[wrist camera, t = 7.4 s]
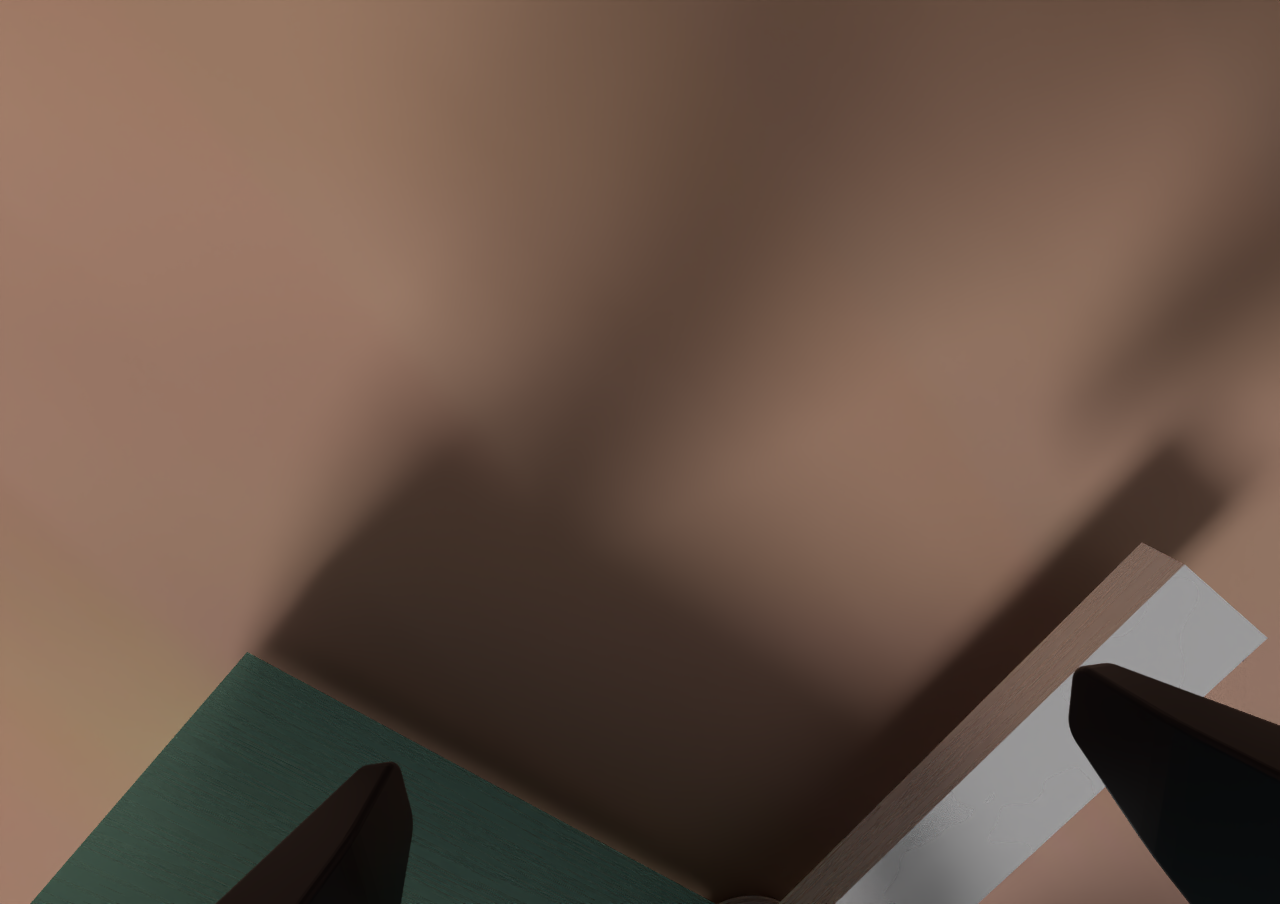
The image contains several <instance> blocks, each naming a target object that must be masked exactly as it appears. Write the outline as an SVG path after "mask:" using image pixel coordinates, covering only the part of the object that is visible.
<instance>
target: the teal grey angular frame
mask: <svg viewBox="0 0 1280 904" xmlns="http://www.w3.org/2000/svg"><path fill="white" fill-rule="evenodd" d="M1266 639H1267V637H1266V636H1265V635H1264V634H1262V633H1261V632H1260V631H1259V630H1258V629H1257V628H1256V627H1255V626H1253V625H1252V624H1251V623H1250V622H1249V621H1248V620H1247V619H1246V618H1244V617H1243V616H1242V615H1241V614H1240V613H1239V612H1238V611H1237V610H1235V609H1234V608H1233V607H1232V606H1231V605H1230V604H1229V603H1228V602H1226V601H1225V600H1224V599H1223V598H1222V597H1221V596H1220V595H1219V594H1217V593H1216V592H1215V591H1214V590H1213V589H1212V588H1211V587H1209V586H1208V585H1207V584H1206V583H1205V582H1204V581H1203V580H1202V579H1200V578H1199V577H1198V576H1197V575H1196V574H1195V573H1194V572H1193V571H1191V570H1190V569H1189V568H1188V567H1187V566H1186V565H1185V564H1183V563H1181V562H1179V561H1177V560H1175V559H1173V558H1171V557H1169V556H1167V555H1165V554H1164V553H1162V552H1160V551H1158V550H1156V549H1154V548H1152V547H1150V546H1148V545H1146V544H1144V543H1141V544H1140V545H1139V546H1138V547H1137V548H1136V549H1135V550H1134V551H1133V552H1132V553H1131V554H1130V555H1129V556H1128V557H1127V558H1126V559H1125V560H1124V561H1123V562H1122V563H1120V564H1119V565H1118V566H1117V567H1116V568H1115V569H1114V570H1113V571H1112V572H1111V573H1110V574H1109V575H1108V576H1107V577H1106V578H1105V579H1104V580H1103V581H1102V582H1101V583H1100V584H1099V585H1098V586H1097V587H1096V588H1095V589H1094V590H1093V591H1092V592H1091V593H1090V594H1089V595H1088V596H1087V597H1086V598H1085V599H1084V600H1083V601H1082V602H1081V603H1080V604H1079V605H1078V606H1077V607H1076V608H1075V609H1074V610H1073V611H1072V612H1071V613H1070V614H1069V615H1068V616H1067V617H1066V618H1065V619H1064V620H1063V621H1062V622H1061V623H1060V624H1059V625H1058V626H1057V627H1056V628H1055V629H1054V630H1053V631H1052V632H1051V633H1050V634H1049V635H1048V636H1047V637H1046V638H1045V639H1044V640H1043V641H1042V642H1041V643H1040V644H1039V645H1038V646H1037V647H1036V648H1035V649H1034V650H1033V651H1032V652H1031V653H1030V654H1029V655H1028V656H1027V657H1026V658H1025V659H1024V660H1023V661H1022V662H1021V663H1020V664H1019V665H1018V666H1017V667H1016V668H1015V669H1014V670H1013V671H1012V672H1011V673H1010V674H1009V675H1008V676H1007V677H1006V678H1005V679H1004V680H1003V681H1002V682H1001V683H1000V684H999V685H998V686H997V687H996V688H995V689H994V690H993V691H992V692H991V693H990V694H989V695H988V696H987V697H986V698H985V699H984V700H983V701H982V702H981V703H980V704H979V705H978V706H977V707H976V708H975V709H974V710H973V711H972V712H971V713H970V714H969V715H968V716H967V717H966V718H965V719H964V720H963V721H962V722H961V723H960V724H959V725H958V726H957V727H956V728H955V729H954V730H953V731H952V732H951V733H950V734H949V735H948V736H947V737H946V738H945V739H944V740H943V741H942V742H941V743H940V744H939V745H938V746H937V747H936V748H935V749H934V750H932V751H931V752H930V753H929V754H928V755H927V756H926V757H925V758H924V759H923V760H922V761H921V762H920V763H919V764H918V765H917V766H916V767H915V768H914V769H913V770H912V771H911V772H910V773H909V774H908V775H907V776H906V777H905V778H904V779H903V780H902V781H901V782H900V783H899V784H898V785H897V786H896V787H895V788H894V789H893V790H892V791H891V792H890V793H889V794H888V795H887V796H886V797H885V798H884V799H883V800H882V801H881V802H880V803H879V804H878V805H877V806H876V807H875V808H874V809H873V810H872V811H871V812H870V813H869V814H868V815H867V816H866V817H865V818H864V819H863V820H862V821H861V822H860V823H859V824H858V825H857V826H856V827H855V828H854V829H853V830H852V831H851V832H850V833H849V834H848V835H847V836H846V837H845V838H844V839H843V840H842V841H841V842H840V843H839V844H838V845H837V846H836V847H835V848H834V849H833V850H832V851H831V852H830V853H829V854H828V855H827V856H826V857H825V858H824V859H823V860H822V861H821V862H820V863H819V864H818V865H817V866H816V867H815V868H814V869H813V870H812V871H811V872H810V873H809V874H808V875H807V876H806V877H805V878H804V879H803V880H802V881H801V882H800V883H799V884H798V885H797V886H796V887H795V888H794V889H793V890H792V891H791V892H790V893H789V894H788V895H787V896H786V897H785V898H784V899H783V900H782V901H781V902H780V901H778V900H776V899H773V898H770V897H765V896H756V895H750V896H740V897H735V898H732V899H729V900H726V901H723V902H721V903H719V904H978V903H979V902H980V901H981V900H982V899H983V898H984V897H986V896H987V895H988V894H989V893H990V892H991V891H992V890H993V889H994V888H995V887H996V886H998V885H999V884H1000V883H1001V882H1002V881H1003V880H1004V879H1005V878H1006V877H1007V876H1008V875H1010V874H1011V873H1012V872H1013V871H1014V870H1015V869H1016V868H1017V867H1018V866H1019V865H1020V864H1022V863H1023V862H1024V861H1025V860H1026V859H1027V858H1028V857H1029V856H1030V855H1031V854H1032V853H1034V852H1035V851H1036V850H1037V849H1038V848H1039V847H1040V846H1041V845H1042V844H1043V843H1044V842H1046V841H1047V840H1048V839H1049V838H1050V837H1051V836H1052V835H1053V834H1054V833H1055V832H1056V831H1058V830H1059V829H1060V828H1061V827H1062V826H1063V825H1064V824H1065V823H1066V822H1067V821H1068V820H1070V819H1071V818H1072V817H1073V816H1074V815H1075V814H1076V813H1077V812H1078V811H1079V810H1080V809H1082V808H1083V807H1084V806H1085V805H1086V804H1087V803H1088V802H1089V801H1090V800H1091V799H1092V798H1094V797H1095V796H1096V795H1097V794H1098V793H1099V792H1100V791H1101V790H1102V789H1103V788H1105V785H1104V784H1103V782H1102V781H1101V779H1100V778H1099V776H1098V775H1097V773H1096V772H1095V770H1094V769H1093V767H1092V766H1091V764H1090V763H1089V761H1088V760H1087V758H1086V757H1085V755H1084V754H1083V752H1082V751H1081V749H1080V748H1079V746H1078V745H1077V743H1076V742H1075V740H1074V738H1073V736H1072V734H1071V731H1070V728H1069V722H1068V715H1069V705H1070V696H1071V686H1072V677H1073V673H1074V672H1075V670H1076V669H1077V668H1079V667H1081V666H1086V665H1093V664H1100V663H1112V664H1116V665H1118V666H1121V667H1124V668H1127V669H1129V670H1132V671H1135V672H1137V673H1140V674H1143V675H1145V676H1148V677H1151V678H1153V679H1156V680H1159V681H1162V682H1164V683H1167V684H1170V685H1172V686H1175V687H1178V688H1180V689H1183V690H1186V691H1188V692H1191V693H1194V694H1196V695H1199V696H1202V697H1204V696H1205V695H1206V694H1207V693H1208V692H1209V691H1210V690H1211V689H1213V688H1214V687H1215V686H1216V685H1217V684H1218V683H1219V682H1220V681H1221V680H1222V679H1223V678H1225V677H1226V676H1227V675H1228V674H1229V673H1230V672H1231V671H1232V670H1233V669H1234V668H1235V667H1237V666H1238V665H1239V664H1240V663H1241V662H1242V661H1243V660H1244V659H1245V658H1246V657H1247V656H1249V655H1250V654H1251V653H1252V652H1253V651H1254V650H1255V649H1256V648H1257V647H1258V646H1259V645H1261V644H1262V643H1263V642H1264V641H1265V640H1266ZM383 762H395V763H397V764H398V766H399V767H400V769H401V772H402V776H403V780H404V783H405V787H406V791H407V795H408V799H409V802H410V806H411V810H412V815H413V834H412V840H411V846H410V852H409V858H408V864H407V870H406V876H405V883H404V889H403V895H402V901H401V904H715V903H713V902H711V901H709V900H707V899H706V898H704V897H702V896H700V895H698V894H696V893H694V892H693V891H691V890H689V889H687V888H685V887H683V886H681V885H680V884H678V883H676V882H674V881H672V880H670V879H668V878H666V877H665V876H663V875H661V874H659V873H657V872H655V871H653V870H652V869H650V868H648V867H646V866H644V865H642V864H640V863H639V862H637V861H635V860H633V859H631V858H629V857H627V856H626V855H624V854H622V853H620V852H618V851H616V850H614V849H613V848H611V847H609V846H607V845H605V844H603V843H601V842H600V841H598V840H596V839H594V838H592V837H590V836H588V835H586V834H585V833H583V832H581V831H579V830H577V829H575V828H573V827H572V826H570V825H568V824H566V823H564V822H562V821H560V820H559V819H557V818H555V817H553V816H551V815H549V814H547V813H546V812H544V811H542V810H540V809H538V808H536V807H534V806H533V805H531V804H529V803H527V802H525V801H523V800H521V799H519V798H518V797H516V796H514V795H512V794H510V793H508V792H506V791H505V790H503V789H501V788H499V787H497V786H495V785H493V784H492V783H490V782H488V781H486V780H484V779H482V778H480V777H479V776H477V775H475V774H473V773H471V772H469V771H467V770H466V769H464V768H462V767H460V766H458V765H456V764H454V763H453V762H451V761H449V760H447V759H445V758H443V757H441V756H439V755H438V754H436V753H434V752H432V751H430V750H428V749H426V748H425V747H423V746H421V745H419V744H417V743H415V742H413V741H412V740H410V739H408V738H406V737H404V736H402V735H400V734H399V733H397V732H395V731H393V730H391V729H389V728H387V727H386V726H384V725H382V724H380V723H378V722H376V721H374V720H372V719H371V718H369V717H367V716H365V715H363V714H361V713H359V712H358V711H356V710H354V709H352V708H350V707H348V706H346V705H345V704H343V703H341V702H339V701H337V700H335V699H333V698H332V697H330V696H328V695H326V694H324V693H322V692H320V691H319V690H317V689H315V688H313V687H311V686H309V685H307V684H306V683H304V682H302V681H300V680H298V679H296V678H294V677H292V676H291V675H289V674H287V673H285V672H283V671H281V670H279V669H278V668H276V667H274V666H272V665H270V664H268V663H266V662H265V661H263V660H261V659H259V658H257V657H255V656H253V655H252V654H250V653H248V652H247V653H246V654H245V655H244V656H243V658H242V659H241V660H240V661H239V662H238V663H237V665H236V666H235V667H234V668H233V669H232V670H231V671H230V673H229V674H228V675H227V676H226V677H225V678H224V680H223V681H222V682H221V683H220V684H219V685H218V687H217V688H216V689H215V690H214V691H213V692H212V694H211V695H210V696H209V697H208V698H207V699H206V700H205V702H204V703H203V704H202V705H201V706H200V707H199V709H198V710H197V711H196V712H195V713H194V714H193V716H192V717H191V718H190V719H189V720H188V721H187V723H186V724H185V725H184V726H183V727H182V728H181V729H180V731H179V732H178V733H177V734H176V735H175V736H174V738H173V739H172V740H171V741H170V742H169V743H168V745H167V746H166V747H165V748H164V749H163V750H162V752H161V753H160V754H159V755H158V756H157V757H156V758H155V760H154V761H153V762H152V763H151V764H150V765H149V767H148V768H147V769H146V770H145V771H144V772H143V774H142V775H141V776H140V777H139V778H138V779H137V781H136V782H135V783H134V784H133V785H132V786H131V788H130V789H129V790H128V791H127V792H126V793H125V794H124V796H123V797H122V798H121V799H120V800H119V801H118V803H117V804H116V805H115V806H114V807H113V808H112V810H111V811H110V812H109V813H108V814H107V815H106V817H105V818H104V819H103V820H102V821H101V822H100V823H99V825H98V826H97V827H96V828H95V829H94V830H93V832H92V833H91V834H90V835H89V836H88V837H87V839H86V840H85V841H84V842H83V843H82V844H81V846H80V847H79V848H78V849H77V850H76V851H75V852H74V854H73V855H72V856H71V857H70V858H69V859H68V861H67V862H66V863H65V864H64V865H63V866H62V868H61V869H60V870H59V871H58V872H57V873H56V875H55V876H54V877H53V878H52V879H51V880H50V882H49V883H48V884H47V885H46V886H45V887H44V888H43V890H42V891H41V892H40V893H39V894H38V895H37V897H36V898H35V899H34V900H33V901H32V902H31V904H215V903H216V902H217V901H219V900H220V899H221V898H222V897H223V896H224V895H225V894H226V893H227V892H228V891H229V890H230V889H231V888H232V887H233V886H235V885H236V884H237V883H238V882H239V881H240V880H241V879H242V878H243V877H244V876H245V875H246V874H247V873H248V872H249V871H250V870H252V869H253V868H254V867H255V866H256V865H257V864H258V863H259V862H260V861H261V860H262V859H263V858H264V857H265V856H266V855H268V854H269V853H270V852H271V851H272V850H273V849H274V848H275V847H276V846H277V845H278V844H279V843H280V842H281V841H282V840H283V839H285V838H286V837H287V836H288V835H289V834H290V833H291V832H292V831H293V830H294V829H295V828H296V827H297V826H298V825H299V824H301V823H302V822H303V821H304V820H305V819H306V818H307V817H308V816H309V815H310V814H311V813H312V812H313V811H314V810H315V809H317V808H318V807H319V806H320V805H321V804H322V803H323V802H324V801H325V800H326V799H327V798H328V797H329V796H330V795H331V794H332V793H334V792H335V791H336V790H337V789H338V788H339V787H340V786H341V785H342V784H343V783H344V782H345V781H346V780H347V779H348V778H350V777H351V776H352V775H353V774H354V773H355V772H356V771H357V770H358V769H360V768H361V767H362V766H365V765H369V764H376V763H383Z"/></svg>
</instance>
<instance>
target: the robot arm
mask: <svg viewBox="0 0 1280 904" xmlns="http://www.w3.org/2000/svg"><path fill="white" fill-rule="evenodd" d="M1068 722H1069V728H1070V731H1071V734H1072V736H1073V738H1074V740H1075V742H1076V743H1077V745H1078V746H1079V748H1080V749H1081V751H1082V752H1083V754H1084V755H1085V757H1086V758H1087V760H1088V761H1089V763H1090V764H1091V766H1092V767H1093V769H1094V770H1095V772H1096V773H1097V775H1098V776H1099V778H1100V779H1101V781H1102V782H1103V784H1104V785H1105V787H1106V788H1107V790H1108V791H1109V793H1110V794H1111V796H1112V797H1113V799H1114V800H1115V802H1116V803H1117V805H1118V806H1119V808H1120V809H1121V811H1122V812H1123V813H1124V815H1125V816H1126V818H1127V819H1128V821H1129V822H1130V824H1131V825H1132V827H1133V828H1134V830H1135V831H1136V833H1137V834H1138V836H1139V837H1140V839H1141V840H1142V842H1143V843H1144V844H1145V846H1146V847H1147V849H1148V850H1149V852H1150V853H1151V854H1152V856H1153V857H1154V859H1155V860H1156V861H1157V862H1158V864H1159V865H1160V866H1161V868H1162V869H1163V870H1164V872H1165V873H1166V874H1167V876H1168V877H1169V878H1170V879H1171V881H1172V882H1173V883H1174V884H1175V886H1176V887H1177V888H1178V889H1179V891H1180V892H1181V893H1182V894H1183V896H1184V897H1185V898H1186V900H1187V901H1188V902H1189V903H1190V904H1280V725H1277V724H1274V723H1272V722H1269V721H1266V720H1264V719H1261V718H1258V717H1256V716H1253V715H1250V714H1248V713H1245V712H1242V711H1239V710H1237V709H1234V708H1231V707H1229V706H1226V705H1223V704H1221V703H1218V702H1215V701H1213V700H1210V699H1207V698H1205V697H1202V696H1199V695H1196V694H1194V693H1191V692H1188V691H1186V690H1183V689H1180V688H1178V687H1175V686H1172V685H1170V684H1167V683H1164V682H1162V681H1159V680H1156V679H1153V678H1151V677H1148V676H1145V675H1143V674H1140V673H1137V672H1135V671H1132V670H1129V669H1127V668H1124V667H1121V666H1118V665H1116V664H1112V663H1100V664H1093V665H1086V666H1081V667H1079V668H1077V669H1076V670H1075V672H1074V673H1073V677H1072V686H1071V696H1070V705H1069V715H1068ZM412 834H413V815H412V810H411V806H410V802H409V799H408V795H407V791H406V787H405V783H404V780H403V776H402V772H401V769H400V767H399V766H398V764H397V763H395V762H383V763H376V764H369V765H365V766H362V767H361V768H360V769H358V770H357V771H356V772H355V773H354V774H353V775H352V776H351V777H350V778H348V779H347V780H346V781H345V782H344V783H343V784H342V785H341V786H340V787H339V788H338V789H337V790H336V791H335V792H334V793H332V794H331V795H330V796H329V797H328V798H327V799H326V800H325V801H324V802H323V803H322V804H321V805H320V806H319V807H318V808H317V809H315V810H314V811H313V812H312V813H311V814H310V815H309V816H308V817H307V818H306V819H305V820H304V821H303V822H302V823H301V824H299V825H298V826H297V827H296V828H295V829H294V830H293V831H292V832H291V833H290V834H289V835H288V836H287V837H286V838H285V839H283V840H282V841H281V842H280V843H279V844H278V845H277V846H276V847H275V848H274V849H273V850H272V851H271V852H270V853H269V854H268V855H266V856H265V857H264V858H263V859H262V860H261V861H260V862H259V863H258V864H257V865H256V866H255V867H254V868H253V869H252V870H250V871H249V872H248V873H247V874H246V875H245V876H244V877H243V878H242V879H241V880H240V881H239V882H238V883H237V884H236V885H235V886H233V887H232V888H231V889H230V890H229V891H228V892H227V893H226V894H225V895H224V896H223V897H222V898H221V899H220V900H219V901H217V902H216V903H215V904H401V901H402V895H403V889H404V883H405V876H406V870H407V864H408V858H409V852H410V846H411V840H412Z"/></svg>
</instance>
